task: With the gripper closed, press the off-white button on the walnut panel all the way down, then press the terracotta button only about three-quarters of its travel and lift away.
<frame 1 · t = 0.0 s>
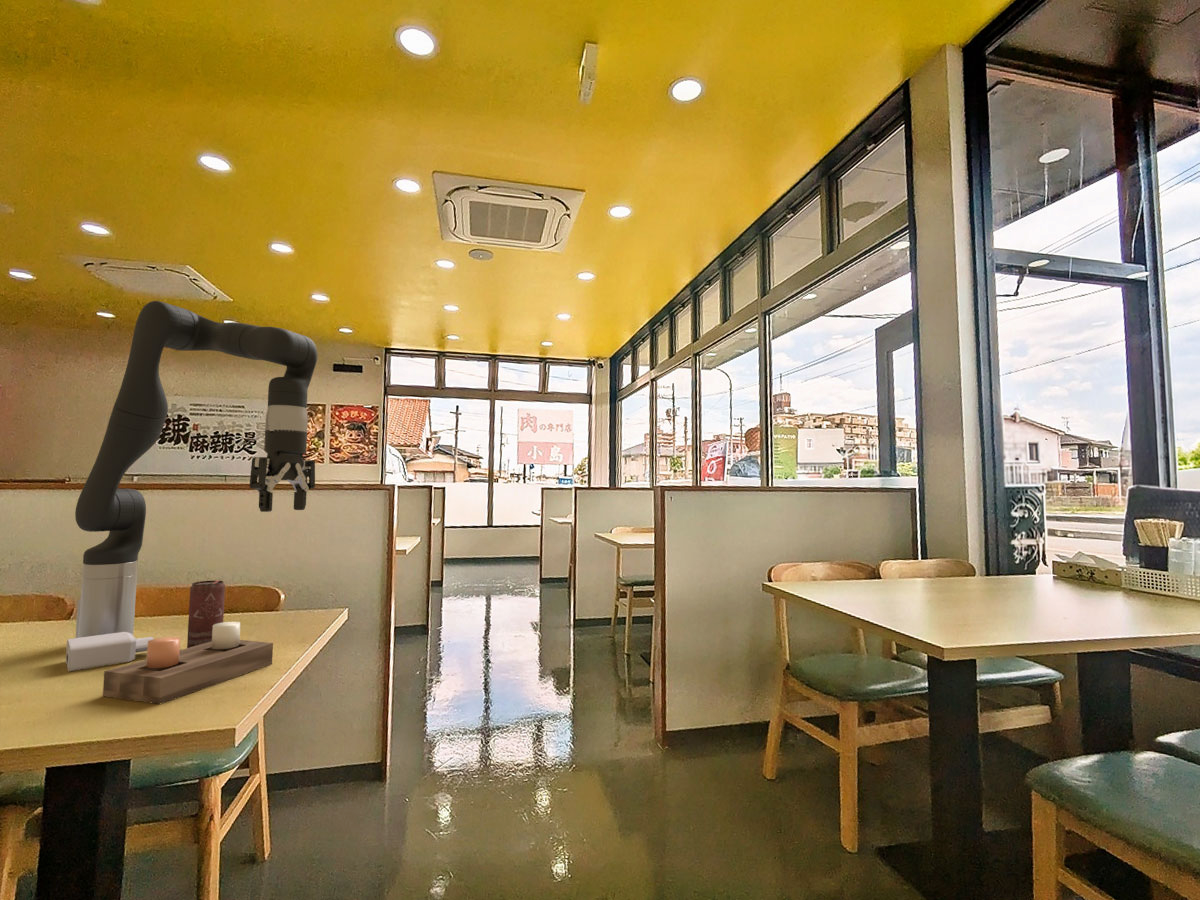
hand: (283, 510, 118), 29 cm above the table, tool pointing down, fingers open, 8 cm apart
button panel: (194, 678, 104), on the table
terracotta button: (163, 652, 99), point 6 cm above the table, slide at 0.0 cm
offwhite button: (226, 635, 111), point 6 cm above the table, slide at 0.0 cm
charger: (117, 661, 116), on the table
can: (205, 650, 123), on the table
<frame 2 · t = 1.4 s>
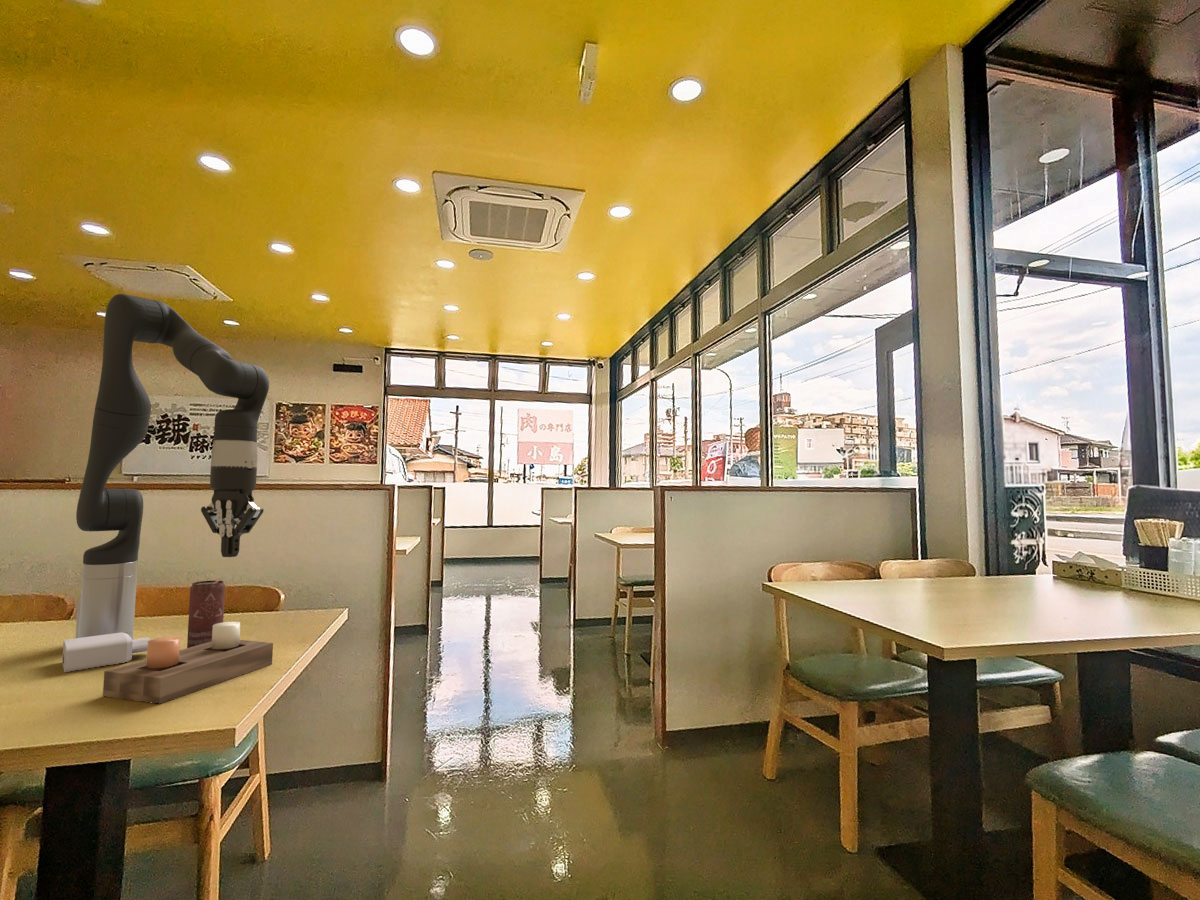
hand: (229, 556, 111), 21 cm above the table, tool pointing down, fingers closed
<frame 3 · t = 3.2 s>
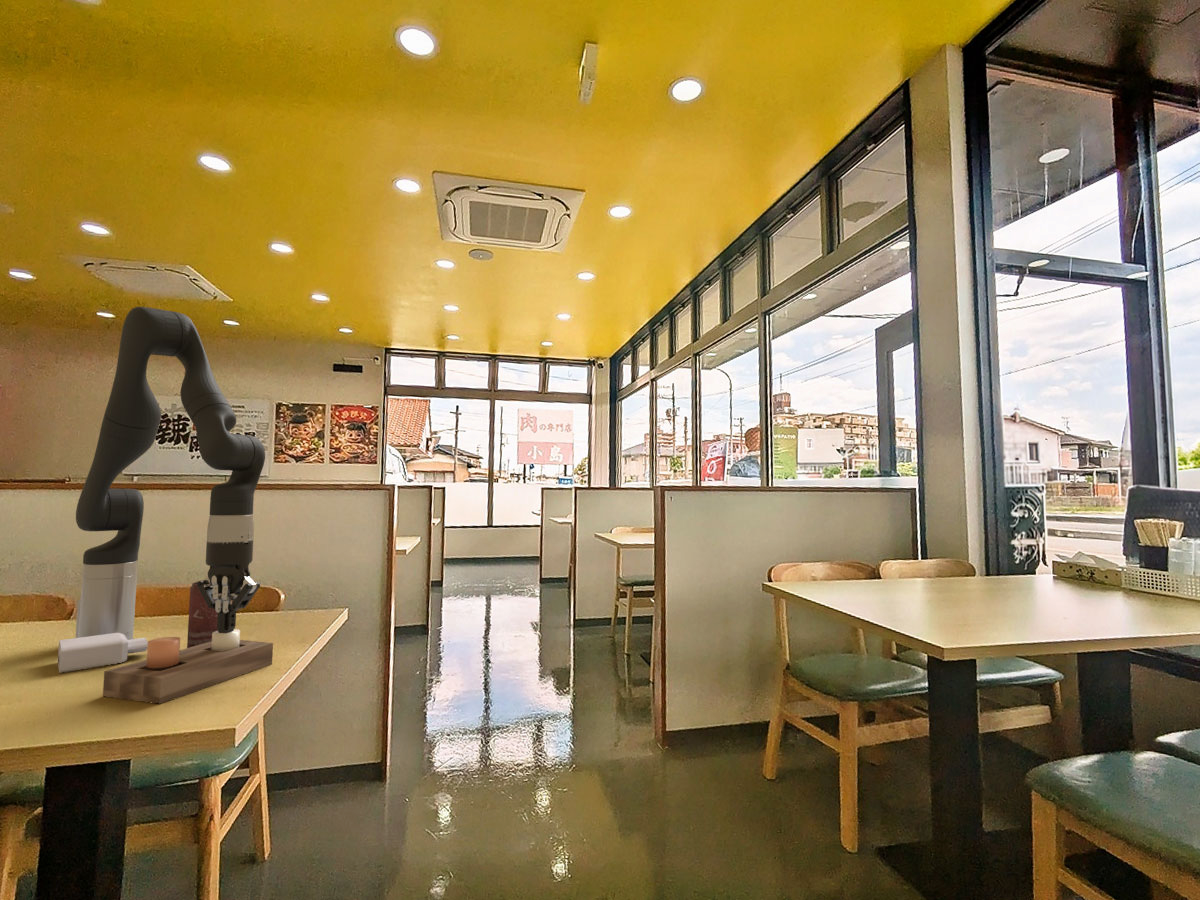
hand: (226, 632, 110), 7 cm above the table, tool pointing down, fingers closed
offwhite button: (225, 642, 110), point 5 cm above the table, slide at 1.4 cm, touching gripper
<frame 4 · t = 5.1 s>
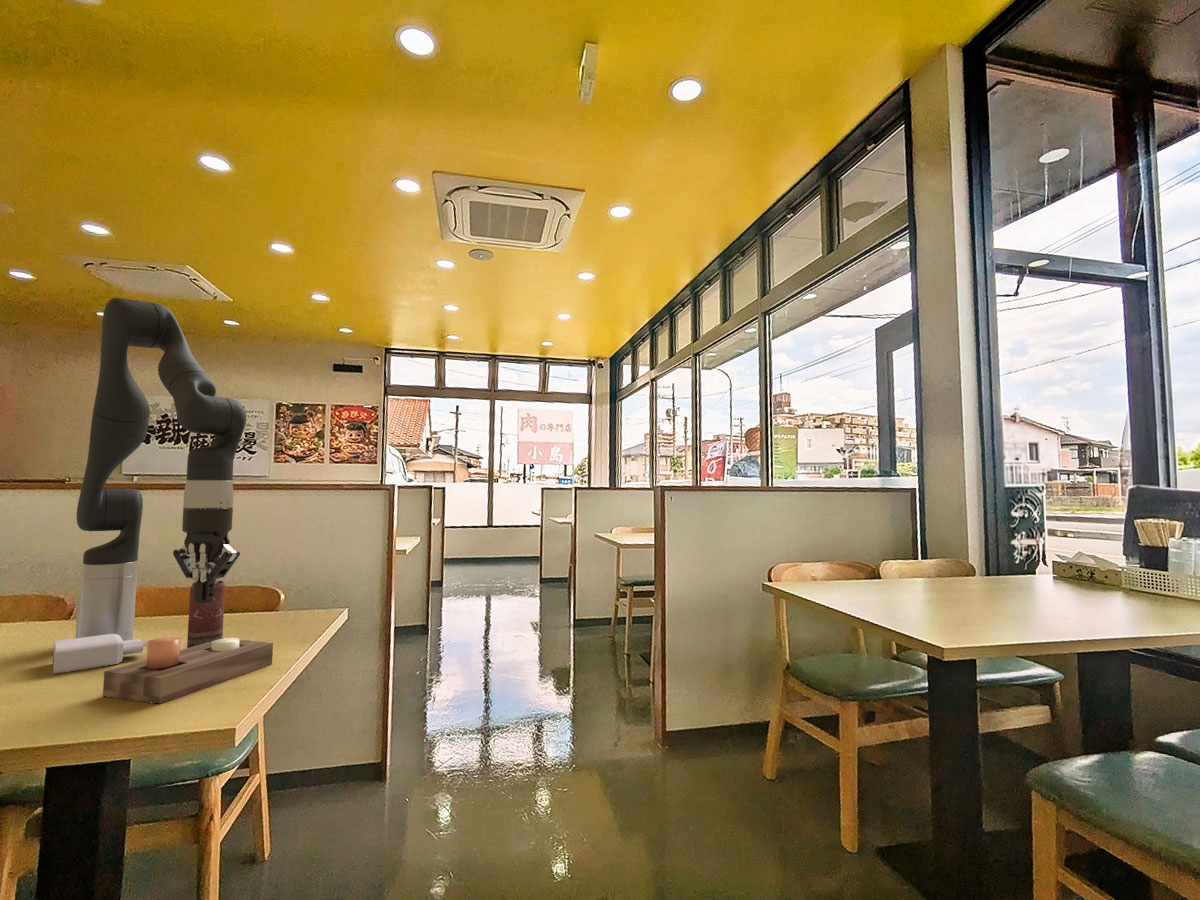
hand: (203, 602, 106), 13 cm above the table, tool pointing down, fingers closed
offwhite button: (225, 651, 110), point 3 cm above the table, slide at 3.0 cm
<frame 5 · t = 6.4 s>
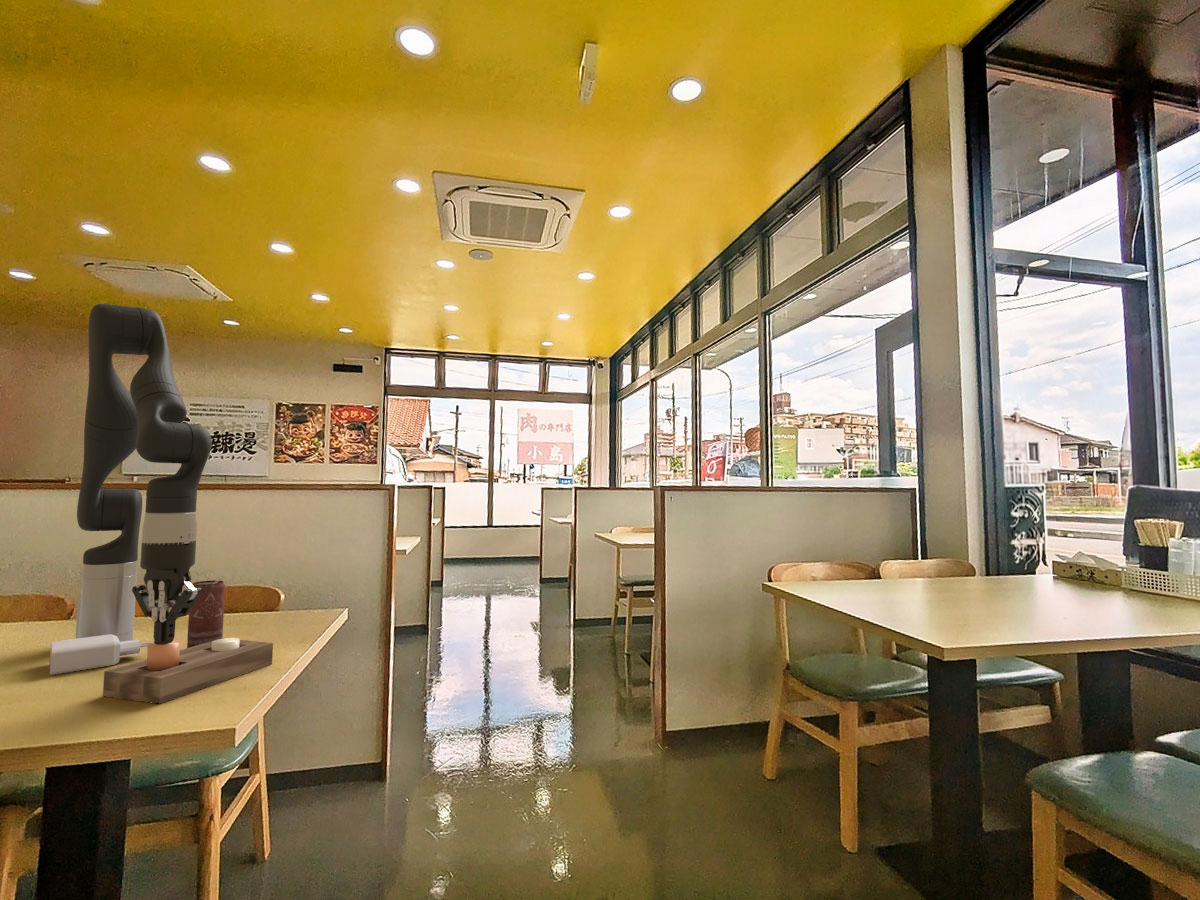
hand: (163, 643, 99), 8 cm above the table, tool pointing down, fingers closed
terracotta button: (163, 655, 99), point 6 cm above the table, slide at 0.5 cm, touching gripper
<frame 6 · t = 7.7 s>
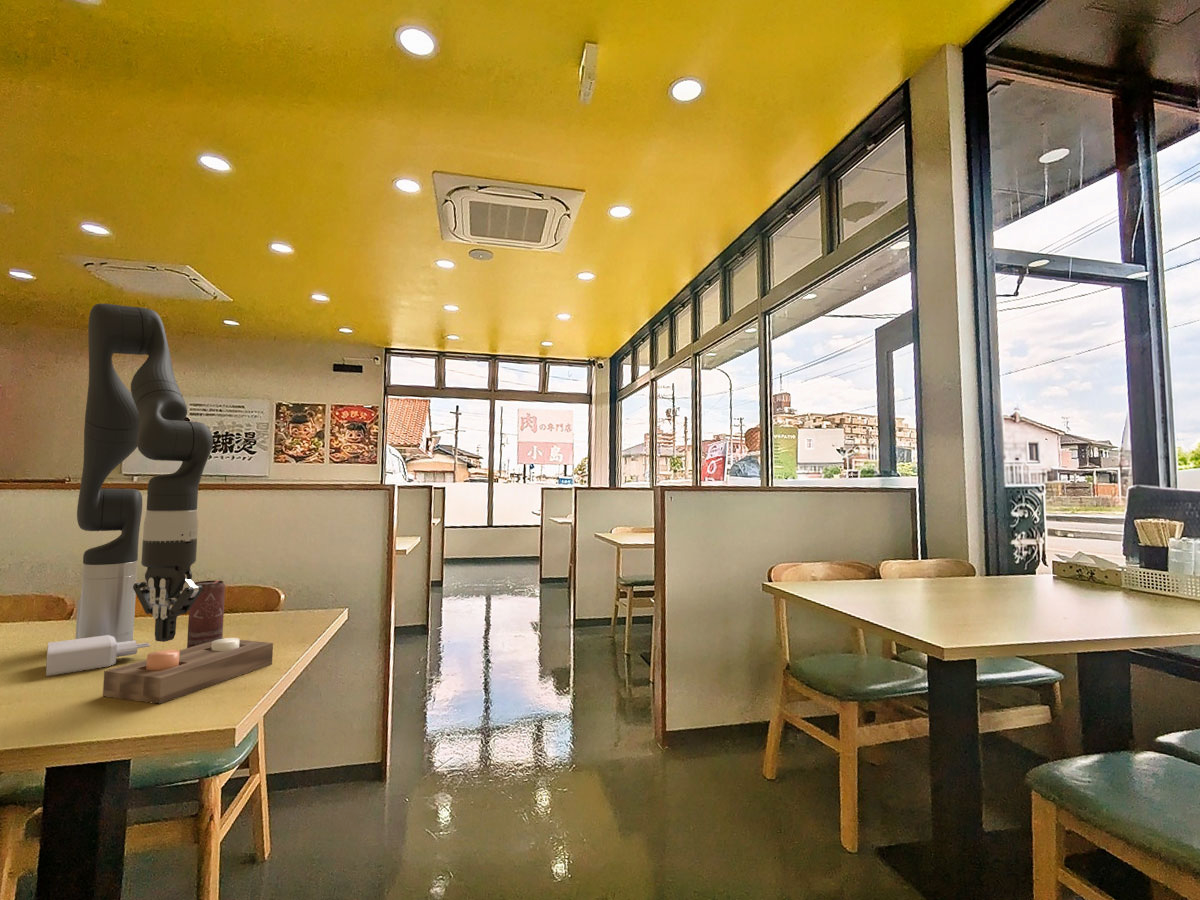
hand: (164, 640, 99), 8 cm above the table, tool pointing down, fingers closed
terracotta button: (162, 665, 99), point 4 cm above the table, slide at 2.2 cm
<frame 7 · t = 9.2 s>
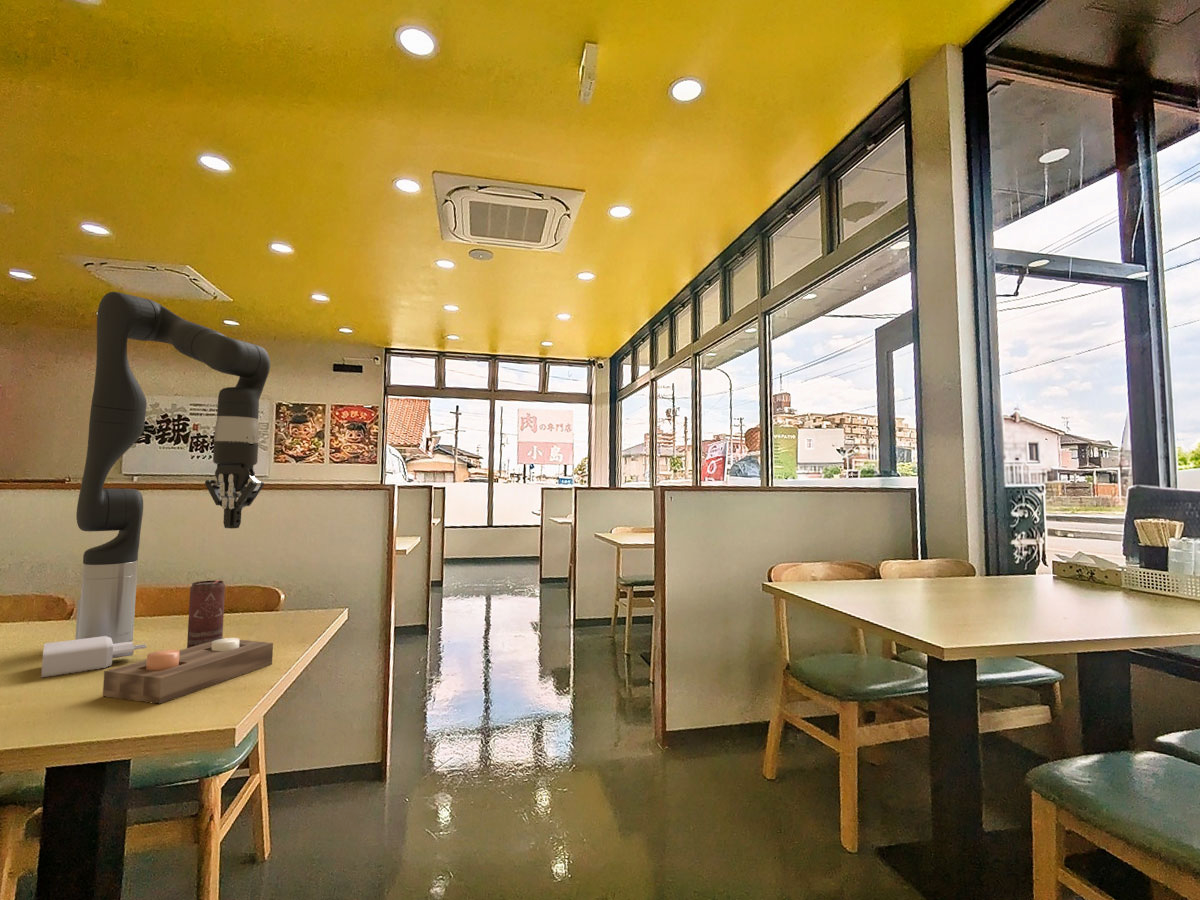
hand: (231, 528, 116), 26 cm above the table, tool pointing down, fingers closed
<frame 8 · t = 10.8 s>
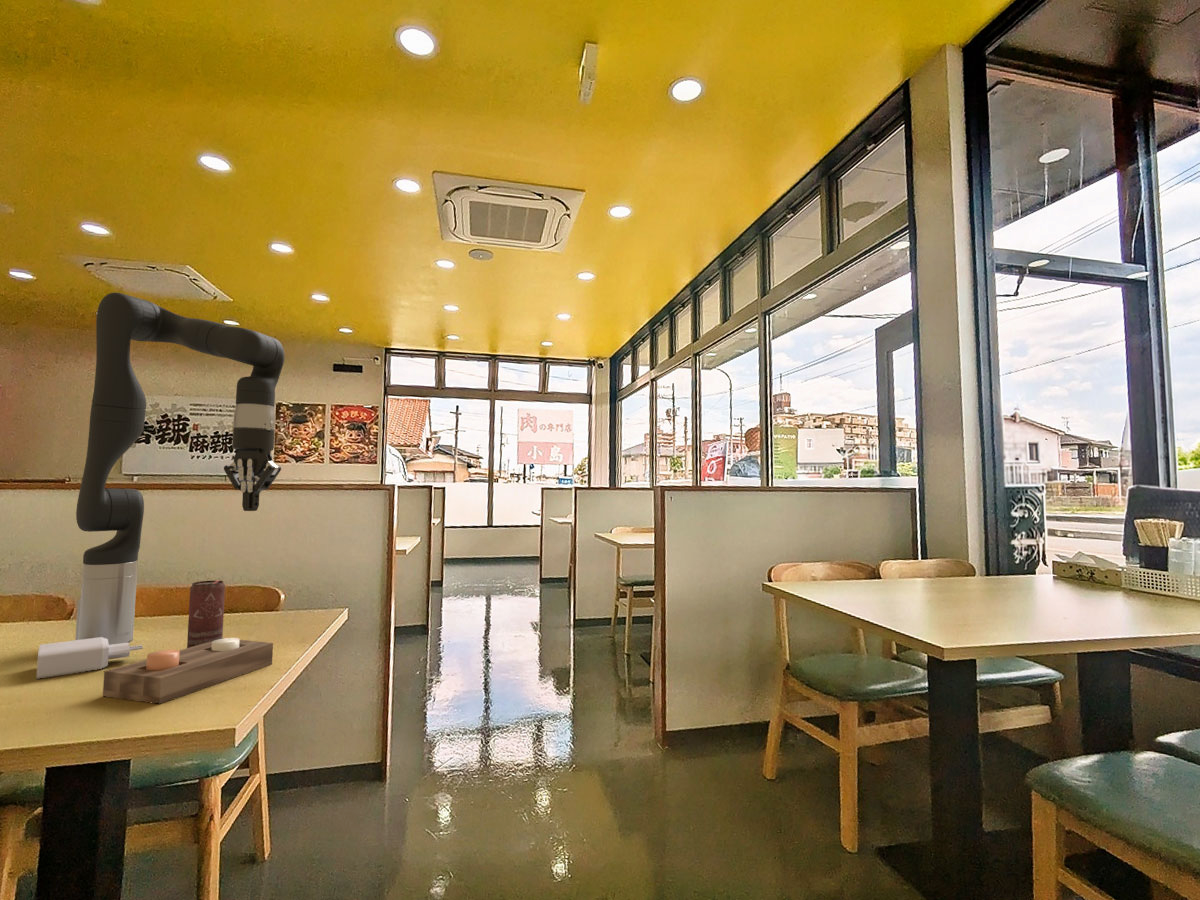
hand: (250, 510, 122), 29 cm above the table, tool pointing down, fingers closed
at the end: offwhite button slide at 3.0 cm; terracotta button slide at 2.2 cm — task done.
